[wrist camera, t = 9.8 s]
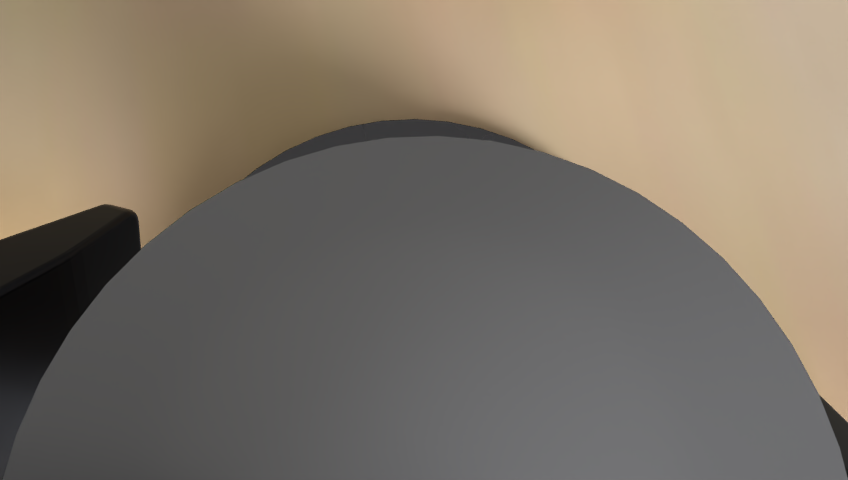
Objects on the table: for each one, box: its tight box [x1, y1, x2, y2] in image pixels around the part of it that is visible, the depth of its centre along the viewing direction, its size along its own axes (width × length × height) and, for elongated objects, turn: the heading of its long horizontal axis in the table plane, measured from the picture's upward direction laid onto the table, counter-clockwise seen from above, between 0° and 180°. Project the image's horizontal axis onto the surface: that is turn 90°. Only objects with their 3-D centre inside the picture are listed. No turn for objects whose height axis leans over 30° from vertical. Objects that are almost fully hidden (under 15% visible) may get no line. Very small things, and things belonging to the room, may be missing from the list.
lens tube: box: [3, 136, 848, 480], centre depth 10 cm, size 5×5×13 cm
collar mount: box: [243, 119, 534, 180], centre depth 16 cm, size 14×14×3 cm
